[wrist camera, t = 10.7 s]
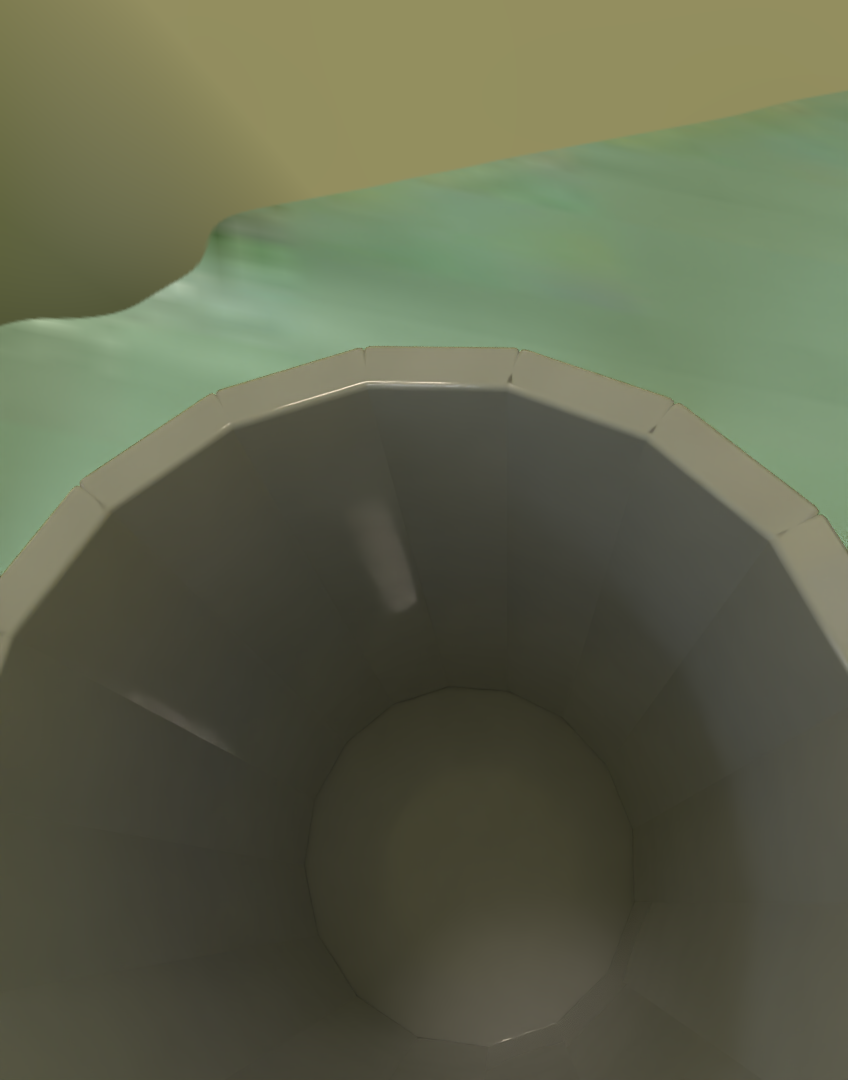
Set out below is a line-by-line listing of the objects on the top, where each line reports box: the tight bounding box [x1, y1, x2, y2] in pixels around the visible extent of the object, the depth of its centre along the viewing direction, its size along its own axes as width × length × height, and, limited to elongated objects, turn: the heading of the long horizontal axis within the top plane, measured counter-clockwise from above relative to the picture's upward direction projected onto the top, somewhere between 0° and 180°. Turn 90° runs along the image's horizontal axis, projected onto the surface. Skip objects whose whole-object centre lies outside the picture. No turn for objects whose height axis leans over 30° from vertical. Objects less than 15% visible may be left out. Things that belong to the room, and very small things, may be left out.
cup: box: [0, 346, 848, 1080], centre depth 10 cm, size 7×7×11 cm
